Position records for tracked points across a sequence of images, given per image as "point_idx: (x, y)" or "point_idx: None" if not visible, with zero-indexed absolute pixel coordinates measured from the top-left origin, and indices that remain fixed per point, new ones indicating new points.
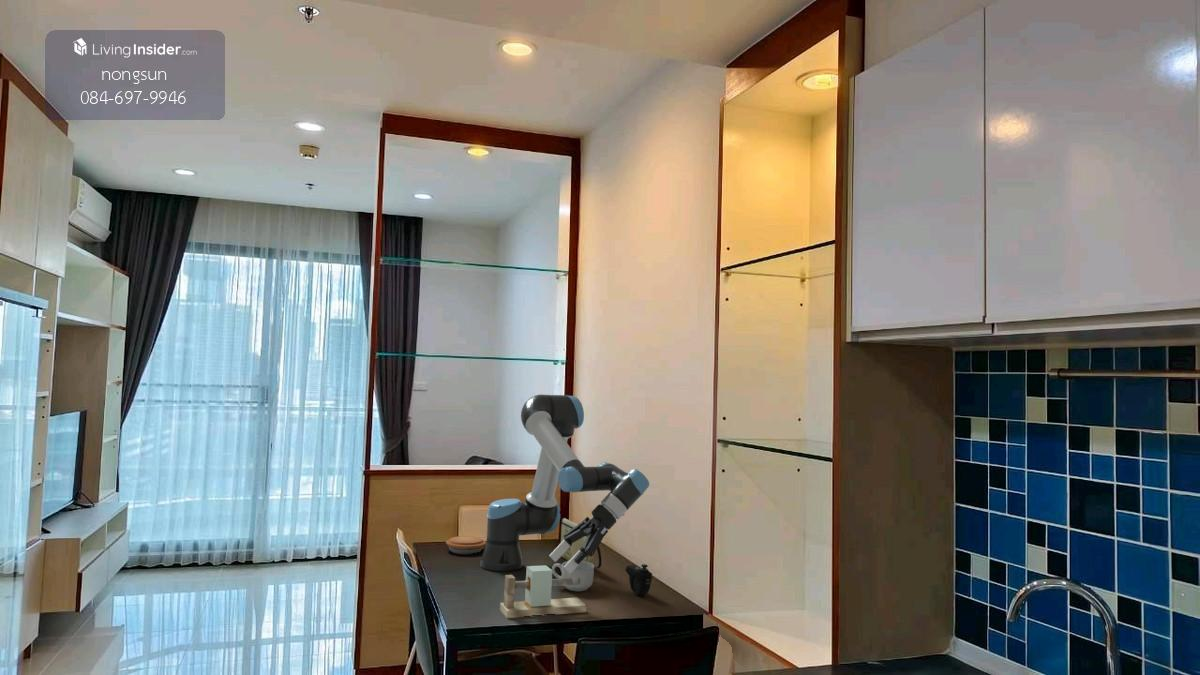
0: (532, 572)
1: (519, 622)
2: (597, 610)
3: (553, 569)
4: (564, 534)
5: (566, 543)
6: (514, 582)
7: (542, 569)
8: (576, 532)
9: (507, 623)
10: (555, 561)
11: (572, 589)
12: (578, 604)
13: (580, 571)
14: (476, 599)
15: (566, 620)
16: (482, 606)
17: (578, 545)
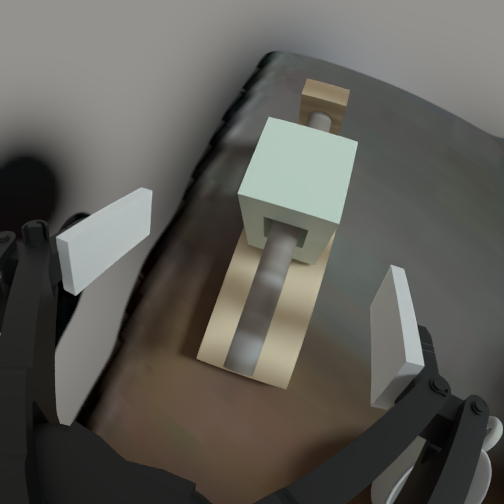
0: (269, 120)
1: (236, 147)
2: (195, 399)
3: (489, 420)
4: (485, 408)
5: (390, 376)
6: (301, 103)
7: (276, 164)
8: (333, 459)
9: (246, 124)
10: (371, 306)
11: None
12: (217, 342)
13: (394, 483)
14: (444, 165)
15: (175, 256)
16: (391, 144)
17: None
